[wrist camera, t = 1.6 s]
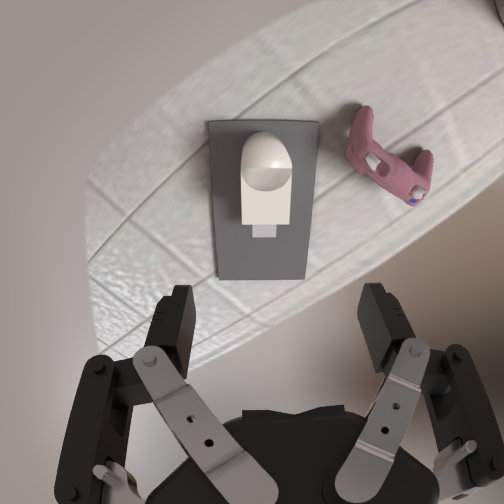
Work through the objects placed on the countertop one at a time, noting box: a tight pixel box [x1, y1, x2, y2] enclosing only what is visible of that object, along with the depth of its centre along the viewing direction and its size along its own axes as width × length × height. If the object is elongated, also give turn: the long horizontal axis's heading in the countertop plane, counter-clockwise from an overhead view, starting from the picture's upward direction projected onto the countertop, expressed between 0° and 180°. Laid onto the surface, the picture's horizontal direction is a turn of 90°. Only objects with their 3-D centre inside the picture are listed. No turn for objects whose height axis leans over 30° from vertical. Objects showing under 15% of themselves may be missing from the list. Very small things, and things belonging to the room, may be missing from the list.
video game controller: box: [345, 106, 434, 206], centre depth 26 cm, size 10×5×7 cm, turn 65°
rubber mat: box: [209, 120, 319, 280], centre depth 31 cm, size 18×10×1 cm, turn 0°
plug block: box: [241, 131, 292, 237], centre depth 27 cm, size 9×4×5 cm, turn 0°
